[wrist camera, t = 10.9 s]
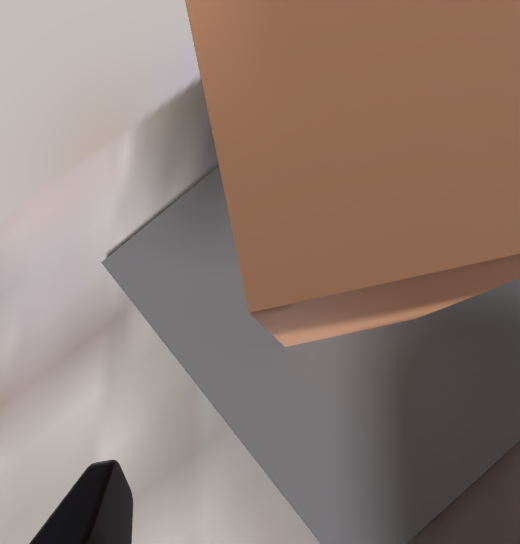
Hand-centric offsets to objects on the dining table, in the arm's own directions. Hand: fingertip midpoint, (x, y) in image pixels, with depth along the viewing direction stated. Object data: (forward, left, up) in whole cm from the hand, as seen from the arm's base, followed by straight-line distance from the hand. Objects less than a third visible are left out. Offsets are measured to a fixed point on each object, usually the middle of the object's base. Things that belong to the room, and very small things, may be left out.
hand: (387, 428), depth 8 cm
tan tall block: (+1, -5, -12) cm, 13 cm away
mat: (-2, -7, -13) cm, 14 cm away
